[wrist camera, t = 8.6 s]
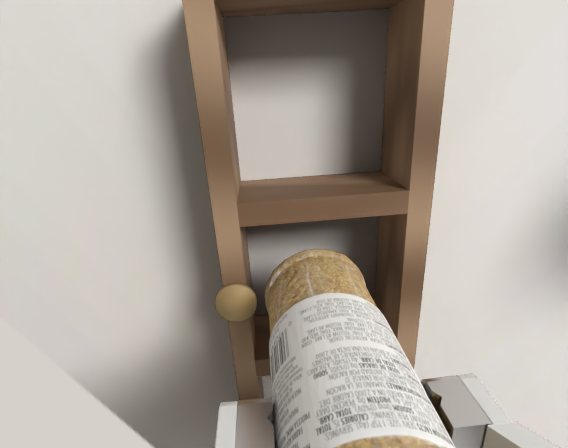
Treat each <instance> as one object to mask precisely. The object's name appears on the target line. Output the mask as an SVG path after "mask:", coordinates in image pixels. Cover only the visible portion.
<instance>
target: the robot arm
mask: <svg viewBox="0 0 568 448" xmlns="http://www.w3.org/2000/svg"><path fill="white" fill-rule="evenodd" d="M421 384H422V386H423V388H424V390H425V392H426V394H427V396H428V398H429V400H430V401H431V403H432V405H433V407H434V408H435V410H436V412H437V414H438V416H439V417H440V419H441V421H442V423H443V425H444V427H445V429H446V431H447V432H448V434H449V436H450V438H451V440H452V442H453V444H454V446H455V447H456V448H560V447H559V446H557V445H555V444H554V443H552V442H550V441H549V440H547V439H545V438H544V437H542V436H541V435H539V434H537V433H536V432H534V431H532V430H531V429H529V428H527V427H526V426H524V425H522V424H521V423H519V422H512V421H511V420H510V419H509V417H508V416H507V415H506V414H505V412H504V411H503V410H502V408H501V407H500V406H499V405H498V403H497V402H496V401H495V399H494V398H493V397H492V396H491V394H490V393H489V392H488V390H487V389H486V388H485V387H484V385H483V384H482V383H481V381H480V380H479V379H478V378H477V376H476V375H474V374H464V375H456V376H446V377H438V378H431V379H423V380H422V381H421ZM274 426H275V425H274V411H273V401H272V398H262V399H251V400H240V401H231V402H221V403H220V406H219V411H218V420H217V429H216V438H215V447H214V448H276V442H275V434H274Z"/></svg>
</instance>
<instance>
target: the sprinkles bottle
mask: <svg viewBox="0 0 568 448" xmlns="http://www.w3.org/2000/svg"><path fill="white" fill-rule="evenodd" d="M265 301H266V308H267V311H268V314H269V322H270V335H271V336H270V341H269V354H270V372H271V389H272V401H273V411H274V425H275V426H274V434H275V442H276V448H456V447H455V446H454V444H453V442H452V440H451V438H450V436H449V434H448V432H447V431H446V429H445V427H444V425H443V423H442V421H441V419H440V417H439V416H438V414H437V412H436V410H435V408H434V407H433V405H432V403H431V401H430V400H429V398H428V396H427V394H426V392H425V390H424V388H423V386H422V384H421V382H420V380H419V378H418V376H417V374H416V373H415V371H414V369H413V367H412V366H411V364H410V362H409V360H408V358H407V357H406V355H405V353H404V351H403V349H402V347H401V346H400V344H399V342H398V340H397V338H396V337H395V335H394V333H393V331H392V329H391V327H390V326H389V324H388V322H387V320H386V319H385V317H384V315H383V314H382V313H381V311H380V310H379V309H378V308H377V307H376V304H375V302H374V300H373V299H372V297H371V295H370V294H369V292H368V290H367V288H366V284H365V280H364V277H363V275H362V273H361V272H360V270H359V268H358V267H357V266H356V265H355V264H354V263H353V262H352V261H351V260H350V259H349V258H348V257H346V256H345V255H343V254H341V253H337V252H334V251H331V250H324V249H313V250H304V251H302V252H299V253H297V254H294V255H293V256H291V257H290V258H288V259H286V260H284V261H283V262H282V263H281V264H280V265H279V266H278V267H277V268H276V269H275V270H274V271H273V273H272V274H271V277H270V278H269V280H268V283H267V288H266V290H265Z"/></svg>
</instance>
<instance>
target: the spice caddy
mask: <svg viewBox="0 0 568 448" xmlns="http://www.w3.org/2000/svg"><path fill="white" fill-rule="evenodd" d="M182 3H183V10H184V17H185V24H186V31H187V38H188V45H189V52H190V59H191V66H192V73H193V80H194V87H195V94H196V101H197V108H198V115H199V122H200V129H201V136H202V143H203V150H204V157H205V164H206V171H207V178H208V185H209V192H210V199H211V206H212V213H213V220H214V227H215V234H216V241H217V248H218V255H219V262H220V269H221V276H222V283H223V288H221V289H220V291H219V292H218V294H217V296H216V301H215V307H216V310H217V312H218V313H219V315H220V316H221V317H223V318H224V319H226V320H228V325H229V332H230V339H231V346H232V353H233V360H234V367H235V374H236V381H237V388H238V395H239V401H240V400H251V399H262V398H264V395H263V386H262V377H261V376H265V375H271V372H270V354H269V341H270V336H271V335H270V322H269V315H261V316H255V310H256V306H257V298H256V294H255V292H254V291H253V290H252V283H251V273H250V264H249V255H248V245H247V236H246V227H247V226H260V225H272V224H285V223H297V222H310V221H322V220H335V219H347V218H360V217H372V216H379V222H378V242H377V263H376V283H375V304H376V307H377V308H378V309H379V310H380V311H381V313H382V314H383V315H384V317H385V319H386V320H387V322H388V324H389V326H390V327H391V329H392V331H393V333H394V335H395V337H396V338H397V340H398V342H399V344H400V346H401V347H402V349H403V351H404V353H405V355H406V357H407V358H408V360H409V362H410V364H411V366H412V367H413V369H414V364H415V355H416V345H417V336H418V327H419V318H420V309H421V300H422V290H423V281H424V272H425V263H426V254H427V244H428V235H429V226H430V217H431V208H432V199H433V189H434V180H435V171H436V162H437V153H438V143H439V134H440V125H441V116H442V107H443V98H444V88H445V79H446V70H447V61H448V52H449V43H450V33H451V24H452V15H453V6H454V0H182ZM373 9H389V18H388V38H387V58H386V79H385V99H384V120H383V140H382V161H381V171H373V172H360V173H346V174H333V175H319V176H305V177H292V178H278V179H265V180H251V181H241V180H240V170H239V161H238V151H237V142H236V133H235V123H234V114H233V105H232V95H231V86H230V76H229V67H228V58H227V48H226V39H225V30H224V20H223V17H238V16H258V15H277V14H296V13H315V12H334V11H353V10H373Z"/></svg>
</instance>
